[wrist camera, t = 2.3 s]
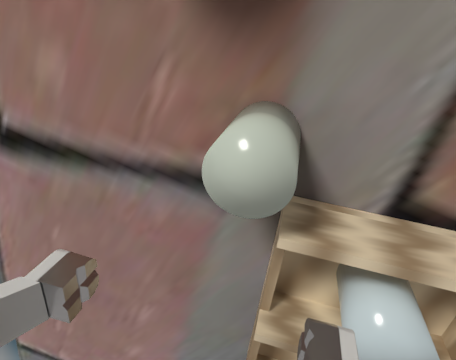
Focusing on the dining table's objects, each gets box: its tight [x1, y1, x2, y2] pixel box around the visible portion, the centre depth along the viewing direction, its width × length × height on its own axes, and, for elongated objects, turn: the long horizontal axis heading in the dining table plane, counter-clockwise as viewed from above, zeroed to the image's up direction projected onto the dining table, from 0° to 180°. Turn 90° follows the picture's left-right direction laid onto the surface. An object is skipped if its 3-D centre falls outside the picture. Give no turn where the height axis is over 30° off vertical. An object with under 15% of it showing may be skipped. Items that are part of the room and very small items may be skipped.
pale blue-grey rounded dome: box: [336, 263, 440, 360], centre depth 26 cm, size 6×6×9 cm
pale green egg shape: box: [202, 101, 301, 219], centre depth 24 cm, size 6×6×9 cm
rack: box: [246, 196, 456, 360], centre depth 31 cm, size 20×25×7 cm
